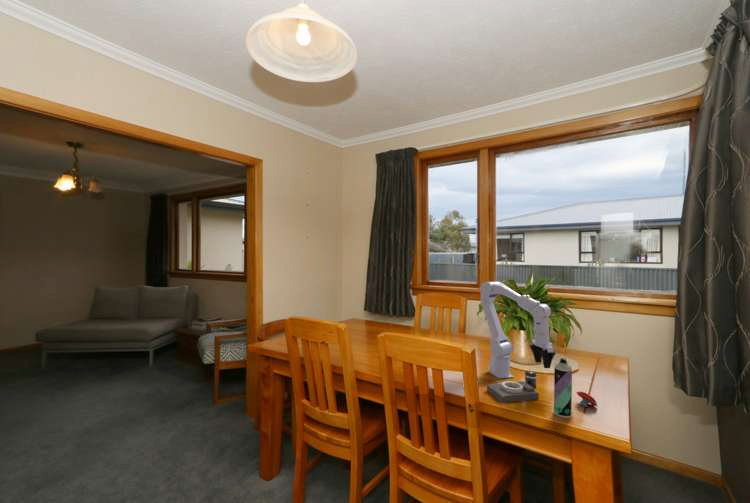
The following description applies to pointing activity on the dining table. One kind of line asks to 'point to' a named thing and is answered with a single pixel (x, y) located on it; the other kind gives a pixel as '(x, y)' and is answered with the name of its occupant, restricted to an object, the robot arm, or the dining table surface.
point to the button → (586, 399)
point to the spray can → (563, 389)
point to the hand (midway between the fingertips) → (542, 365)
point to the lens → (530, 378)
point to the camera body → (513, 391)
